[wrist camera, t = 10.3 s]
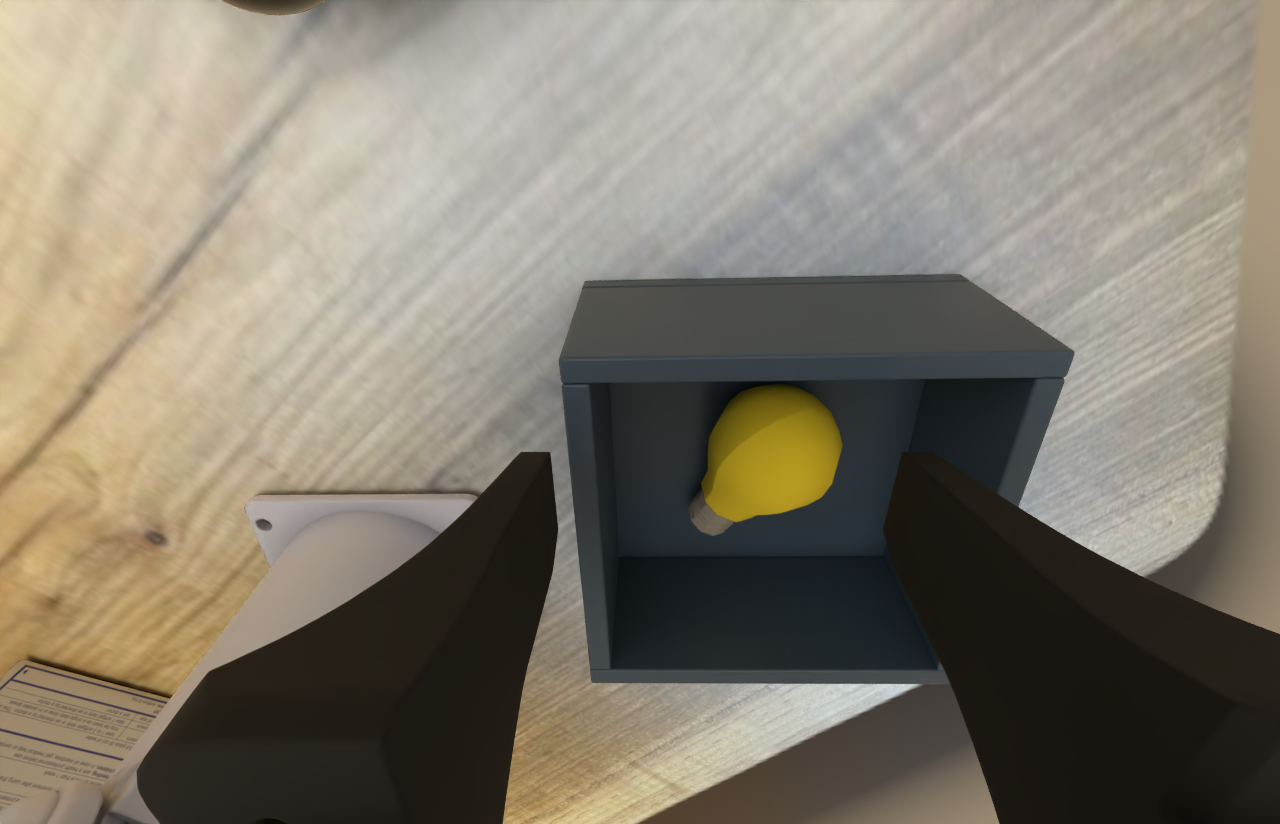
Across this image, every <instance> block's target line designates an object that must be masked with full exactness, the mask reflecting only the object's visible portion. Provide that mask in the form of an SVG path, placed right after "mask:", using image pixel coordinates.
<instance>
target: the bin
mask: <svg viewBox="0 0 1280 824" xmlns="http://www.w3.org/2000/svg"><path fill="white" fill-rule="evenodd" d="M1073 357H1074V351H1073V350H1072V349H1070V348H1069V347H1067V346H1066V345H1064V344H1063V343H1061V342H1060V341H1058V340H1057V339H1055V338H1054V337H1052V336H1051V335H1049V334H1048V333H1047V332H1045V331H1044V330H1042V329H1041V328H1039V327H1038V326H1036V325H1035V324H1033V323H1032V322H1030V321H1029V320H1027V319H1026V318H1024V317H1023V316H1021V315H1020V314H1018V313H1017V312H1015V311H1014V310H1012V309H1011V308H1009V307H1008V306H1006V305H1005V304H1003V303H1002V302H1000V301H999V300H997V299H996V298H995V297H993V296H992V295H990V294H989V293H987V292H986V291H984V290H983V289H981V288H980V287H978V286H977V285H975V284H974V283H972V282H970V281H969V280H968V279H966V278H965V277H963V276H962V275H906V276H849V277H792V278H735V279H679V280H622V281H586V282H584V285H583V288H582V291H581V294H580V297H579V300H578V303H577V307H576V310H575V313H574V316H573V319H572V322H571V325H570V328H569V331H568V334H567V337H566V340H565V343H564V346H563V349H562V352H561V355H560V358H559V366H560V376H561V381H562V396H563V405H564V415H565V425H566V435H567V445H568V455H569V465H570V475H571V485H572V494H573V504H574V514H575V524H576V534H577V544H578V554H579V564H580V574H581V584H582V593H583V603H584V613H585V623H586V633H587V643H588V653H589V663H590V673H591V681H592V682H593V683H785V684H950V682H949V680H948V678H947V675H946V673H945V671H944V669H943V667H942V665H941V663H940V661H939V659H938V657H937V655H936V653H935V651H934V649H933V647H932V645H931V643H930V641H929V639H928V637H927V635H926V632H925V630H924V628H923V626H922V624H921V622H920V620H919V618H918V616H917V614H916V612H915V610H914V608H913V606H912V604H911V602H910V600H909V598H908V596H907V594H906V592H905V590H904V588H903V586H902V583H901V581H900V579H899V577H898V575H897V573H896V570H895V567H894V564H893V561H892V558H891V555H890V552H889V549H888V545H887V542H886V539H885V536H884V532H883V527H884V523H885V519H886V515H887V511H888V507H889V503H890V499H891V494H892V490H893V486H894V482H895V478H896V474H897V470H898V466H899V462H900V458H901V454H902V452H933V453H934V454H936V455H938V456H940V457H942V458H943V459H945V460H947V461H948V462H950V463H951V464H953V465H955V466H956V467H958V468H959V469H961V470H962V471H964V472H965V473H967V474H968V475H970V476H971V477H973V478H974V479H976V480H977V481H979V482H980V483H982V484H983V485H985V486H986V487H988V488H989V489H991V490H993V491H994V492H996V493H997V494H999V495H1000V496H1002V497H1003V498H1005V499H1006V500H1008V501H1009V502H1011V503H1012V504H1014V505H1015V506H1017V507H1018V506H1019V503H1020V501H1021V498H1022V495H1023V493H1024V490H1025V487H1026V484H1027V482H1028V479H1029V476H1030V474H1031V471H1032V468H1033V465H1034V463H1035V460H1036V457H1037V455H1038V452H1039V449H1040V446H1041V444H1042V441H1043V438H1044V436H1045V433H1046V430H1047V427H1048V425H1049V422H1050V419H1051V417H1052V414H1053V411H1054V408H1055V406H1056V403H1057V400H1058V398H1059V395H1060V392H1061V389H1062V387H1063V384H1064V378H1063V377H1065V376H1066V375H1067V373H1068V370H1069V368H1070V365H1071V362H1072V360H1073ZM774 384H786V385H793V386H795V387H797V388H800V389H802V390H804V391H806V392H808V393H811V394H813V395H814V396H815V397H816V398H817V399H818V400H819V401H820V402H821V403H822V404H823V405H824V406H825V407H826V408H827V409H828V410H829V411H830V412H831V413H832V415H833V418H834V420H835V422H836V425H837V427H838V429H839V432H840V436H841V441H842V445H843V446H842V450H841V454H840V457H839V461H838V464H837V468H836V472H835V475H834V479H833V482H832V485H831V486H830V487H829V488H828V490H827V491H826V492H825V494H824V495H823V496H822V497H821V498H820V499H818V500H816V501H814V502H812V503H810V504H808V505H806V506H803V507H800V508H796V509H793V510H790V511H786V512H783V513H778V514H770V515H756V516H754V517H752V518H750V519H747V520H743V521H740V522H734V523H733V524H732V525H731V526H730V527H728V529H726V530H725V531H724V533H722V534H718V535H715V536H711V535H709V534H706V533H703V532H701V531H700V530H699V529H698V528H697V527H696V526H695V525H694V524H693V523H692V521H691V520H690V515H689V511H688V507H689V505H690V503H691V501H692V500H693V498H695V496H696V495H697V494H698V493H699V492H700V491H701V489H702V486H701V482H702V480H703V478H704V477H705V475H706V473H707V471H708V444H709V436H710V435H711V433H712V431H713V429H714V427H715V425H716V423H717V422H718V420H719V418H720V416H721V414H722V413H723V411H724V409H725V407H726V406H727V404H728V402H729V401H730V400H731V399H733V398H734V397H735V396H736V395H737V394H739V393H740V392H741V391H744V390H747V389H751V388H754V387H757V386H765V385H774Z"/></svg>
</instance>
